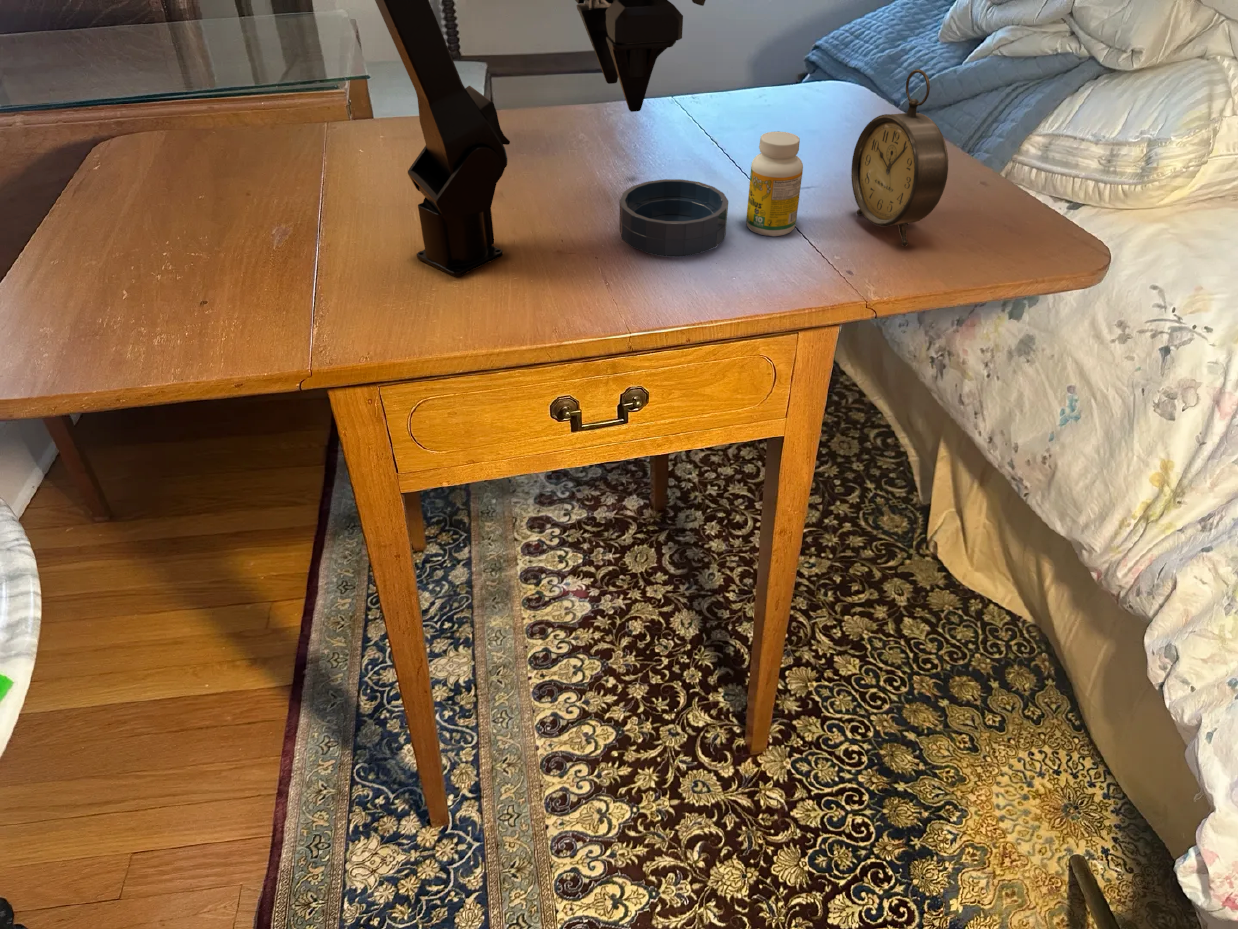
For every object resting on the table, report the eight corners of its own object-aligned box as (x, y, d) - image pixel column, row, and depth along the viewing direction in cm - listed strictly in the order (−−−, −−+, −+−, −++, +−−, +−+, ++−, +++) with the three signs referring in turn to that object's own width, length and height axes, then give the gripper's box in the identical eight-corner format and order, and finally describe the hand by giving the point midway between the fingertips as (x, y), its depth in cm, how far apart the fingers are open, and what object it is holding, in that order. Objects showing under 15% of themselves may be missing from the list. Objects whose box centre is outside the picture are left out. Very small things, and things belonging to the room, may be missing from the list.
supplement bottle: (802, 234, 92) (815, 145, 86) (754, 239, 92) (763, 149, 85) (785, 213, 96) (796, 126, 90) (739, 218, 96) (747, 130, 89)
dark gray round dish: (681, 271, 86) (683, 233, 84) (598, 238, 92) (597, 202, 89) (746, 233, 93) (749, 198, 90) (664, 205, 98) (665, 170, 96)
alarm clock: (840, 212, 97) (866, 57, 86) (881, 204, 98) (911, 52, 88) (896, 254, 89) (933, 89, 78) (940, 245, 90) (982, 83, 80)
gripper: (746, -71, 72) (729, 120, 82) (678, -102, 86) (671, 65, 96) (616, -66, 70) (616, 129, 80) (569, -99, 84) (573, 72, 94)
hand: (622, 96), depth 87 cm, fingers open, 9 cm apart
